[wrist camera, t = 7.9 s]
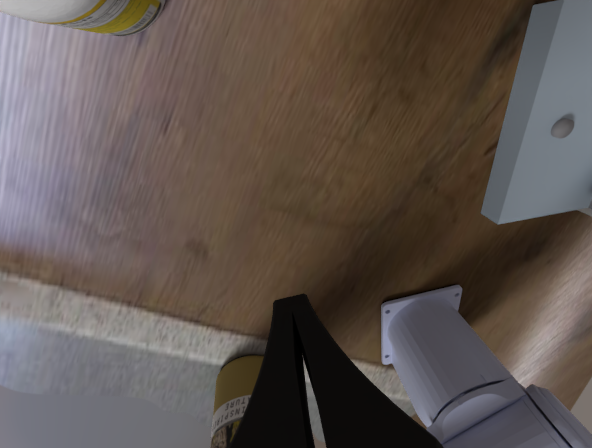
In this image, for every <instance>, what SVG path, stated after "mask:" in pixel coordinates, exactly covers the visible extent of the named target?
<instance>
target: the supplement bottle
mask: <svg viewBox="0 0 592 448" xmlns="http://www.w3.org/2000/svg"><path fill="white" fill-rule="evenodd" d="M164 4H165V0H0V12H3V13H6V14H9V15H12V16H15V17H19V18H22V19H26V20H30V21H35V22H40V23H47V24H52V25H58V26H63V27H69V28H74V29H80V30H85V31H90V32H96V33H102V34H109V35H115V36H126V35H133V34H136V33H139V32H142V31H143V30H145V29H147V28H148V27H149V26H151V25H152V24H153V23H154V22H155V21H156V19H157V18H158V17H159V15H160V13H161V11H162V9H163V7H164Z"/></svg>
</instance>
